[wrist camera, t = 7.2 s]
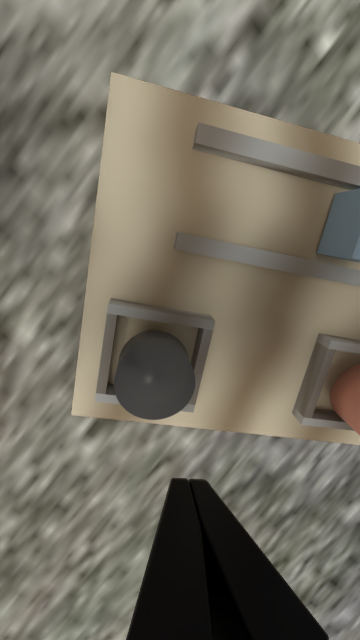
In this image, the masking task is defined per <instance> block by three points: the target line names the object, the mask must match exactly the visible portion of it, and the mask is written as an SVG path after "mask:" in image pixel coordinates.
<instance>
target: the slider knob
mask: <svg viewBox="0 0 360 640" xmlns="http://www.w3.org/2000/svg"><path fill="white" fill-rule="evenodd" d="M317 254H321V255H326V256H331V257H335V258H340V259H345V260H349V261H354V262H359V263H360V189H355V190H350V191H345V192H340V193H335V197H334V200H333V203H332V206H331V209H330V213H329V216H328V219H327V222H326V225H325V228H324V232H323V235H322V238H321V241H320V244H319V248H318V251H317Z"/></svg>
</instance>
